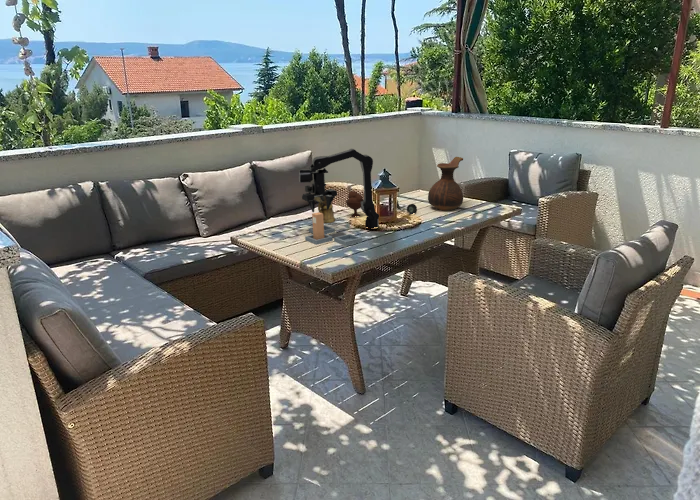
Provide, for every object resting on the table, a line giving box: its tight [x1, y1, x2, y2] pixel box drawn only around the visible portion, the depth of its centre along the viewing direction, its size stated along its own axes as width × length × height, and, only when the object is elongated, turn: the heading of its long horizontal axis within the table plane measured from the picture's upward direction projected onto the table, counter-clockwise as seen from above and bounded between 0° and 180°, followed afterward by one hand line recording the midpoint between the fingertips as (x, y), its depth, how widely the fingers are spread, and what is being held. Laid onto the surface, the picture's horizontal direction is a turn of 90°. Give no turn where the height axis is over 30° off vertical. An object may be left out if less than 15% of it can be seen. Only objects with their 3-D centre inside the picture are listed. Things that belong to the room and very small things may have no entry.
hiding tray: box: [304, 234, 334, 246], centre depth 282 cm, size 10×10×2 cm
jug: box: [427, 156, 464, 212], centre depth 335 cm, size 22×22×30 cm
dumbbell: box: [396, 198, 418, 215], centre depth 336 cm, size 9×22×10 cm, turn 27°
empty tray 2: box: [333, 233, 363, 247], centre depth 278 cm, size 10×10×2 cm
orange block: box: [311, 211, 325, 240], centre depth 280 cm, size 4×4×14 cm
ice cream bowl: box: [345, 190, 364, 218], centre depth 326 cm, size 11×11×15 cm
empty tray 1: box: [307, 224, 336, 235], centre depth 296 cm, size 10×10×2 cm
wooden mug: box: [314, 196, 336, 224], centre depth 315 cm, size 9×14×18 cm, turn 134°
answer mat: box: [328, 232, 347, 240], centre depth 289 cm, size 9×9×1 cm
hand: (320, 210), depth 293 cm, fingers open, 9 cm apart
